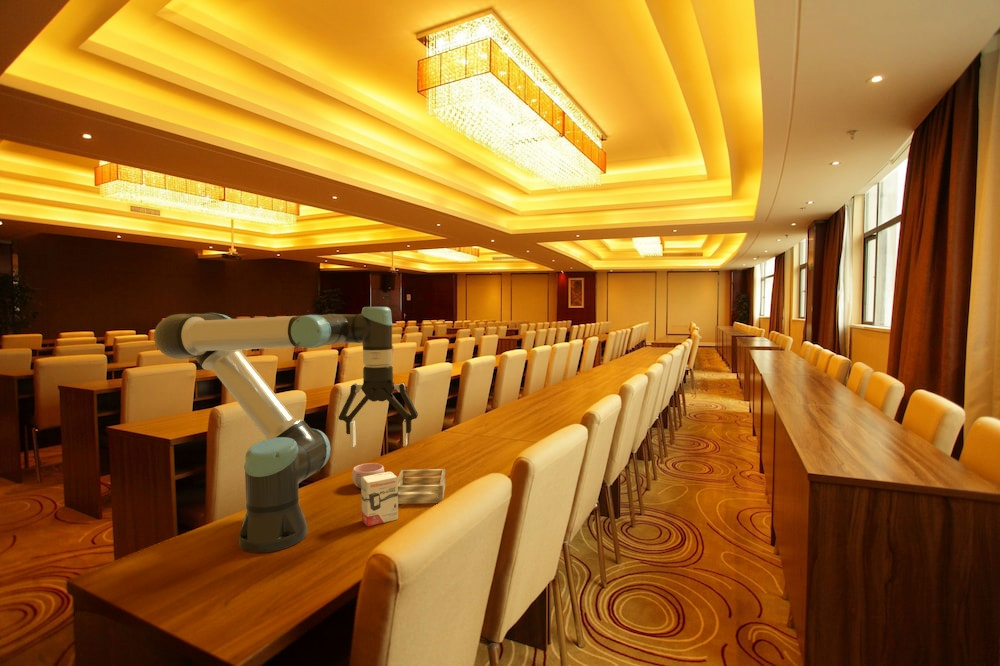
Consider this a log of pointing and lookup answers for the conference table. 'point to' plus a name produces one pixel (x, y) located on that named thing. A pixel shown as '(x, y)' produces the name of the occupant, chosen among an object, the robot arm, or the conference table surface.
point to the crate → (421, 486)
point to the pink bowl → (365, 472)
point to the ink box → (379, 498)
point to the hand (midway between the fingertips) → (379, 445)
